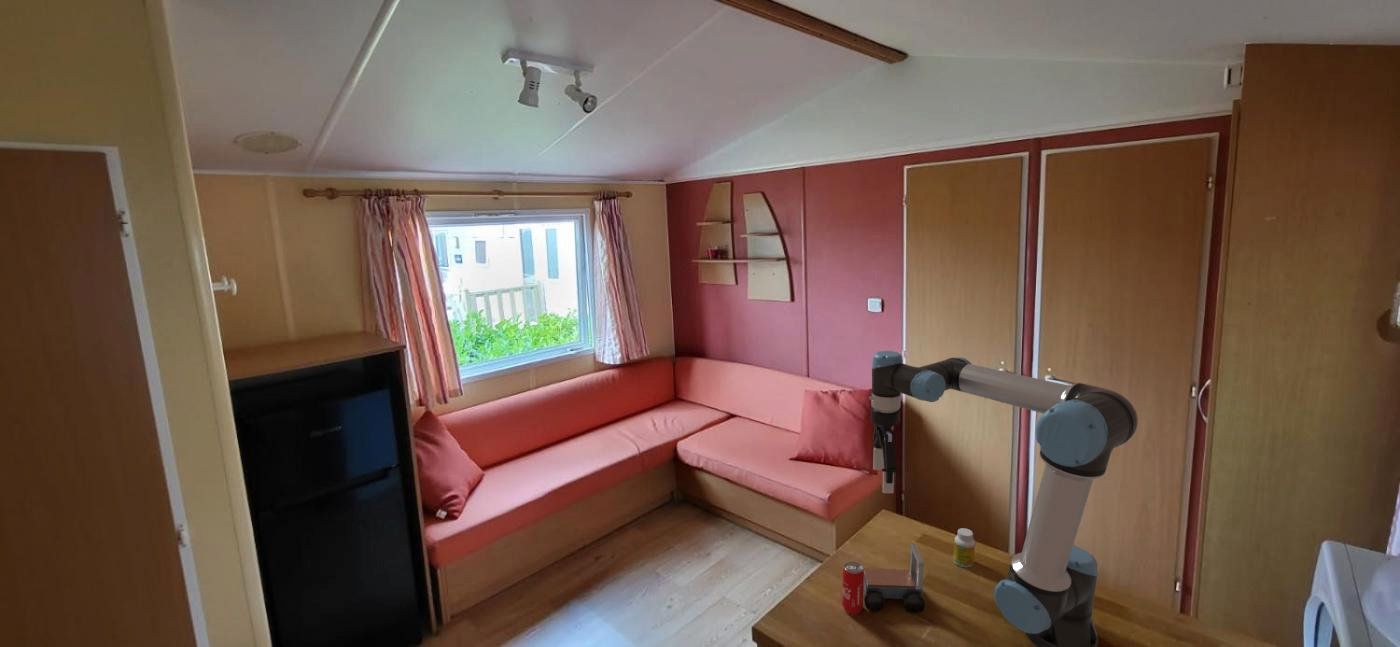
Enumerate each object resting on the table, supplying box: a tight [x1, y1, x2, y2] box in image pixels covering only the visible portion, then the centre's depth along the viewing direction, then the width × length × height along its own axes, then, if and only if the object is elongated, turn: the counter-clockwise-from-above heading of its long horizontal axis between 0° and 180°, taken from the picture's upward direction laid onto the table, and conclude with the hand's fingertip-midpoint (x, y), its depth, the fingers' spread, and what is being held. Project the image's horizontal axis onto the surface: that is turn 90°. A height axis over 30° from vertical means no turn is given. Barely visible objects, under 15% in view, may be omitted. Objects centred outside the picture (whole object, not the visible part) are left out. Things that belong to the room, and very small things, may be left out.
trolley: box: [863, 543, 926, 614], centre depth 159 cm, size 15×11×14 cm
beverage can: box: [841, 561, 864, 615], centre depth 156 cm, size 5×5×12 cm
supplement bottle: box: [952, 527, 976, 568], centre depth 173 cm, size 5×5×10 cm
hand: (882, 480), depth 168 cm, fingers open, 13 cm apart
